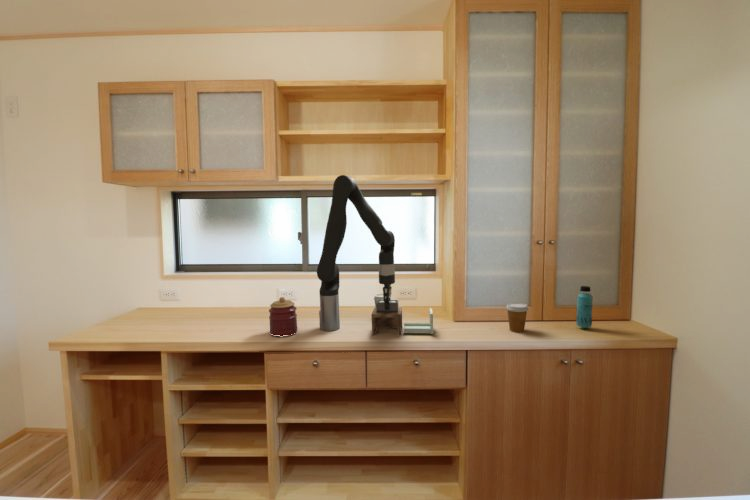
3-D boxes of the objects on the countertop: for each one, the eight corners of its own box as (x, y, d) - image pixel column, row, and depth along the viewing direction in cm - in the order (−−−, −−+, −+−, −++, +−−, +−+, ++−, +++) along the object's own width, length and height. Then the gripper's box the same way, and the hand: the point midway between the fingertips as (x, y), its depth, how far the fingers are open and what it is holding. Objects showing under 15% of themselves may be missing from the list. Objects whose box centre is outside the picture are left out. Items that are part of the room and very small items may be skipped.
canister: (294, 337, 174) (292, 299, 173) (266, 338, 174) (264, 300, 172) (299, 328, 187) (298, 293, 186) (273, 329, 187) (271, 294, 185)
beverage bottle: (572, 327, 177) (573, 285, 175) (583, 325, 179) (584, 284, 177) (584, 331, 171) (586, 288, 169) (595, 329, 173) (596, 286, 171)
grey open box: (376, 312, 176) (376, 302, 176) (377, 309, 181) (377, 300, 181) (397, 312, 175) (397, 302, 174) (398, 309, 180) (398, 300, 180)
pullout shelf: (403, 333, 173) (403, 313, 172) (404, 326, 183) (403, 308, 182) (433, 333, 172) (432, 313, 171) (432, 327, 182) (431, 308, 181)
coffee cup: (391, 315, 206) (391, 294, 205) (388, 319, 198) (387, 297, 197) (376, 314, 209) (376, 293, 208) (372, 319, 200) (371, 297, 199)
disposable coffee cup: (525, 327, 179) (526, 302, 178) (529, 333, 170) (530, 307, 169) (504, 326, 181) (504, 302, 180) (507, 333, 172) (507, 307, 171)
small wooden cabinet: (372, 335, 174) (371, 314, 173) (375, 327, 186) (374, 307, 185) (401, 335, 172) (400, 314, 171) (402, 327, 184) (401, 307, 183)
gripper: (380, 271, 184) (381, 303, 185) (377, 276, 170) (378, 311, 171) (395, 270, 183) (396, 303, 185) (393, 275, 169) (394, 311, 171)
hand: (387, 307), depth 178 cm, fingers open, 7 cm apart
